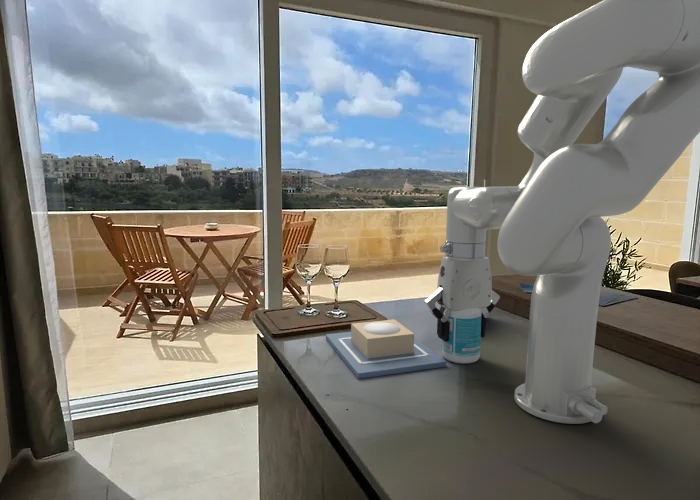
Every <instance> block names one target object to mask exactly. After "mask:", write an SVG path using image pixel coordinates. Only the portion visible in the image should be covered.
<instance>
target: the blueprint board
mask: <svg viewBox="0 0 700 500" xmlns="http://www.w3.org/2000/svg"><path fill="white" fill-rule="evenodd" d="M325 340H326V341H327V342H328V344H329V345H330V346H331V347H332V348H333V350H334V351H335V352H336V354H337V355H338V356H339V357H340V358H341V359H342V361H343V362H344V363H345V364H346V366H347V367H348V368H349V370H350V371H351V372H352V373H353V374H354V376H355V377H356V378H357V379H358V380H359V379H365V378H371V377H372V378H373V377H379V376H386V375H388V376H389V375H393V374H395V375H396V374H402V373H408V372H415V371H417V372H418V371H424V370H430V369H436V368H437V369H438V368H444V367H447V360H446V359H444V358H442V357H441V356H439V355H438V354H437V353H435V352H434V351H432V350H431V349H430V348H429V347H427V346H426V345H424V343H422V342H421V341H419V340H418V339H416V338H415V333H414V332H412V331H411V330H410V329H408V328H407V327H405V325H403V324H402V323H400V322H399V321H397V320H396V319H386V320H375V321H374V320H373V321H364V322H356V323H355V322H353V323H350V331H346V332H338V333H326V334H325Z"/></svg>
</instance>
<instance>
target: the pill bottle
mask: <svg viewBox="0 0 700 500" xmlns="http://www.w3.org/2000/svg"><path fill="white" fill-rule="evenodd" d="M445 309H446V308H445ZM444 311H445V310H444ZM481 314H482V311H481V308H467V309H463V310H459V311H451V314H450V316H449V317H448V319H447V321H448V322H449V323H450V326H449V341H447V342H445V341H443V340H442V345H441V347H442V348H441V350H442V357H443V359H444V358H445V359H444V360H446V361H448V362H453V363H456V364H462V365H464V364H472V363H475V362H477V361H478V360H479V359H480V357H481V340H482V339H481V338H482V337H481Z"/></svg>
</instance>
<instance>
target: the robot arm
mask: <svg viewBox="0 0 700 500" xmlns="http://www.w3.org/2000/svg"><path fill="white" fill-rule="evenodd" d="M624 68H633V69H638V70H644V71H648V72H654V73H657V74H658V78H657V79H656V81H655V82H654V83H653V84H652V85H650V87H649V88H647V89H646V90H645V91H644V92H643V93H641V94H640V95H639V96H638V97H636V98H635V100H633V102H631V104H630V105H629V106H628V107H627V108H626V109H625V110H624V111H623V113H622V115H621V116H620V118H619V119H618V120H617V122H616V124H615V125H614V126H613V127H612V129H611V130H610V131H609V133H608V134H607V135H606V136H605V137H604V138H603V139H602V140H601V141H600V142H598V143H596V144H595V143H594V144H593V143H575V142H576V140H577V139H578V138H579V136H580V135H581V133H582V132H583V131H584V129H585V128H586V126H587V125H588V123H590V121H591V120H592V118H593V117H594V116H595V114H596V113H597V111H598V110H599V108H600V107H601V106H602V104H603V103H604V102H605V100H606V99H607V97H608V96H609V95H610V93H611V92H612V91H613V89H614V88H615V86H616V85H617V83H618V82H619V80H620V79H621V76H622V74H623V71H624ZM521 77H522V81H523V85H524V86H525V87H526V89H527V90H528V91H529V92H531V93H533V94H534V95H536V97H535V98H534V100H533V102H532V103H531V105H530V107H529V109H528V110H527V111H526V113H525V115H524V117H523V118H522V120H521V121H520V123H519V125H518V127H517V136H518V138H519V140H520V141H521V143H522V144H523V145H524V146H525V147H526V148H528V149H529V150H530V151H531V152H532V153H533V160H532V162H531V165H530V168H529V169H528V171H527V173H526V174H525V175H524V177H523V178H522V180H521V182H520V183H519V184H518V185H508V186H507V185H506V186H505V185H501V186H481V187H480V186H454V187H451V188H450V189H449V190H448V193H447V201H446V207H447V208H446V227H445V228H446V229H445V242H444V245H440V247H439V250H440V253H444V255H445V256H442V259H441V262H440V266H439V271H438V277H437V284H436V285H437V286H436V290H435V291H434V292H433V293H431V295H429V297H428V298H426V299H424V304H425V306H426V308H427V309H428V310H429V312H430V313H431V314H432V315H433V316H434V318H436V319H437V324H436V325H437V327H436V335H437V337H438V338H439V339H440V340H442V342H443V341H445V342H447V341H449V326H450V323H449V322H448V321H447V319H448V317H449V316H450V314H451V311H459V310H463V309H467V308H481V311H482V314H481V338H485V337H486V336H485V335H486V329H487V318H490V313H491V312H492V311H493V309H495V306H496V304H497V303H498V302H499V300H500V298H501V296H500V295H499V294H498V293H497V292H496V291H494V290H493V285H492V282H493V281H492V271H491V264H490V259H489V257H488V256H486V244H487V243H486V240H487V230H499V231H498V235H497V241H496V242H497V243H496V244H497V245H496V247H497V252H498V253H497V254H498V256H499V259H500V261H501V263H502V264H503V266H505V268H506V269H508V270H509V271H510V272H513V273H514V274H517V275H520V276H525V277H526V276H528V277H529V276H530V277H531V276H533V277H535V276H536V278H535V281H534V284H533V288H532V291H531V297H530V307H529V319H528V320H529V321H528V322H529V323H528V337H527V351H526V354H527V355H526V365H525V378H524V379H525V380H524V383H521V384H520V385H517V387H515V390H514V395H513V396H514V397H513V399H514V401H515V403H516V404H517V405H518V407H519V408H521V409H522V410H523V411H525V412H526V413H528V414H530V415H532V416H534V417H538V418H540V419H542V420H546V421H550V422H553V423H558V424H565V425H566V424H569V425H579V424H586V423H590V422H592V423H594V424H598V423H600V422H601V421H602V419H603V416H604V415H607V413H608V410H609V408H608V406H607V405H605V404H603V403H601V402H600V401H598V399H596V396H597V395H596V394H597V393H596V392H597V388H596V387H593V386H592V375H593V365H594V355H595V342H596V331H597V321H598V314H599V306H600V305H599V303H600V294H601V288H602V282H603V279H604V275H605V274H604V273H605V271H606V267H607V265H608V261H609V257H610V253H611V245H612V237H611V236H612V235H611V232H610V228H609V226H608V224H607V223H606V221H605V220H604V219H603V218H602V217H612V216H613V217H614V216H618V215H619V216H620V215H623V214H627V213H629V212H631V211H633V210H634V209H635V208H636V207H638V206H639V205H640V204H641V203H642V202H643V201H644V199H645V198H646V197H647V196H648V195H649V193H650V192H652V190H653V189H654V188H655V186H657V184H658V183H659V182H660V181H661V179H662V178H663V177H664V176H665V175H666V173H667V172H668V171H669V170H670V169H671V168H672V166H673V165H674V164H675V163H676V162H677V160H678V159H679V158H680V157H681V155H682V154H683V153H684V151H685V150H686V149H687V148H688V147H689V145H690V144H691V143H692V142H693V140H695V139H696V137H697V136H698V135H699V134H700V0H601V1H599V2H597V3H595V4H594V5H592V6H589V7H588V8H586V9H584V10H583V11H581V12H578V13H576V14H575V15H573V16H571V17H569V18H568V19H566V20H563V21H562V22H560V23H559V24H557V25H555V26H554V27H552V28H550V29H549V30H548V31H546V32H545V33H543V35H541V36H540V37H539V38H538V39H537V40H536V41H535V42H534V43H533V44H532V45H531V47H530V48H529V50H528V51H527V53H526V55H525V57H524V61H523V64H522V68H521ZM574 143H575V144H574ZM436 303H437V305H439V307H438V308H437V306H436ZM445 308H446V309H445ZM444 310H445V311H444Z"/></svg>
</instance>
